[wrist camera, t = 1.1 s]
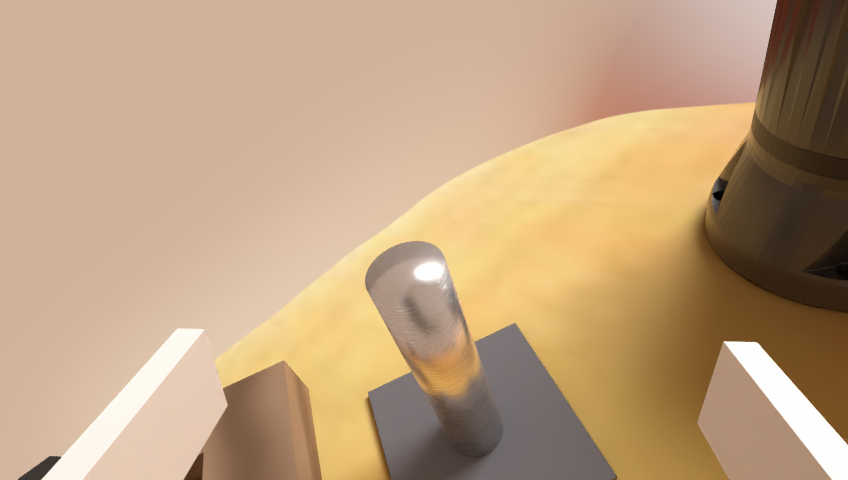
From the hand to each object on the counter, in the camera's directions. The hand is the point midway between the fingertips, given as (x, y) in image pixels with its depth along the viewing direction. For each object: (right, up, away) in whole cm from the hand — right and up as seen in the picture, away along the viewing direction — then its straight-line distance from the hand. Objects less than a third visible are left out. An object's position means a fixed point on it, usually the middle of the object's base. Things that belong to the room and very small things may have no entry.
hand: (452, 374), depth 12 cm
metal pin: (+3, -8, +17) cm, 19 cm away
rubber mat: (+3, -9, +18) cm, 20 cm away
